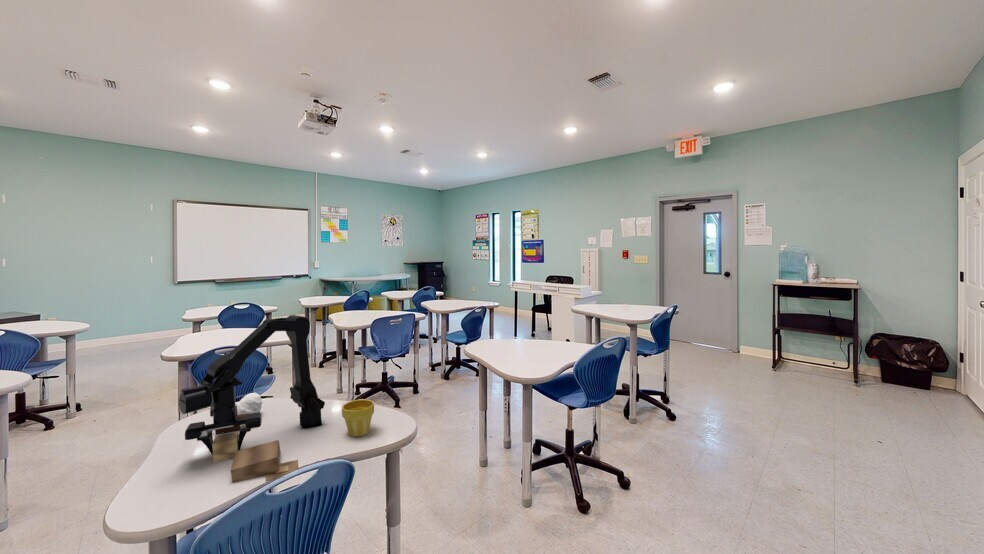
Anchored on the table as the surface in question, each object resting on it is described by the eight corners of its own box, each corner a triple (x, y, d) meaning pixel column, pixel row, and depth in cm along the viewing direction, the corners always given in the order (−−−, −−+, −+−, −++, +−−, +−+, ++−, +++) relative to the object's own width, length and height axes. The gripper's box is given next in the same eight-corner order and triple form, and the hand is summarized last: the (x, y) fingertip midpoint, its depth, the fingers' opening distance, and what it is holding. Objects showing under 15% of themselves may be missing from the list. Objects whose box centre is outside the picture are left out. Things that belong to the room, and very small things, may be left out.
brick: (215, 435, 134) (214, 422, 134) (217, 430, 138) (216, 417, 137) (252, 429, 139) (251, 416, 139) (252, 424, 143) (252, 412, 142)
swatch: (297, 461, 118) (297, 458, 118) (298, 475, 111) (298, 472, 110) (266, 468, 114) (266, 465, 114) (265, 483, 107) (265, 480, 107)
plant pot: (347, 426, 141) (346, 399, 140) (377, 425, 142) (376, 398, 141) (338, 440, 130) (337, 411, 130) (371, 439, 131) (370, 410, 131)
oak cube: (239, 450, 125) (238, 431, 124) (237, 459, 119) (236, 439, 119) (216, 454, 122) (215, 435, 121) (213, 464, 116) (212, 444, 116)
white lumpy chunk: (262, 392, 149) (226, 406, 140) (265, 414, 150) (230, 428, 141) (255, 389, 153) (219, 401, 143) (258, 410, 154) (223, 423, 145)
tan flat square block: (280, 452, 121) (278, 439, 121) (279, 470, 111) (276, 457, 111) (238, 464, 116) (236, 451, 116) (232, 484, 107) (230, 470, 106)
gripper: (261, 388, 131) (263, 434, 132) (191, 398, 122) (194, 448, 123) (259, 400, 121) (261, 450, 122) (182, 412, 112) (186, 465, 113)
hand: (226, 452), depth 120 cm, fingers closed on oak cube, 6 cm apart
